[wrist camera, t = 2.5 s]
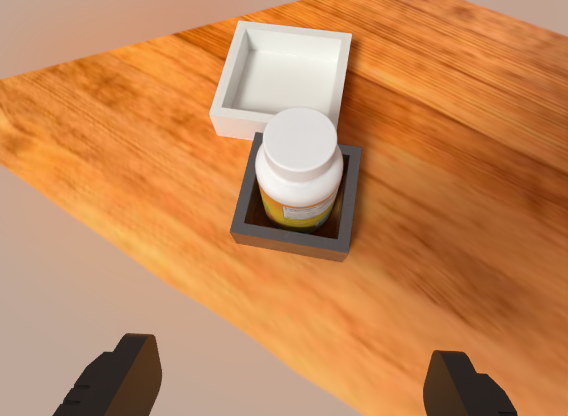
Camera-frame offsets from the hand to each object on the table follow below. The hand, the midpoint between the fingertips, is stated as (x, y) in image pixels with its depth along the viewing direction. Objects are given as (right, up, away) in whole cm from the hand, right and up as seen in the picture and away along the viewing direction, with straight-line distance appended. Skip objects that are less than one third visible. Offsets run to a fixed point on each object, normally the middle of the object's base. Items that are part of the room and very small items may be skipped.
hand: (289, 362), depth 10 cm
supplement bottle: (+1, +5, +17) cm, 18 cm away
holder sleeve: (+1, +5, +17) cm, 18 cm away
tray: (0, +15, +21) cm, 25 cm away
